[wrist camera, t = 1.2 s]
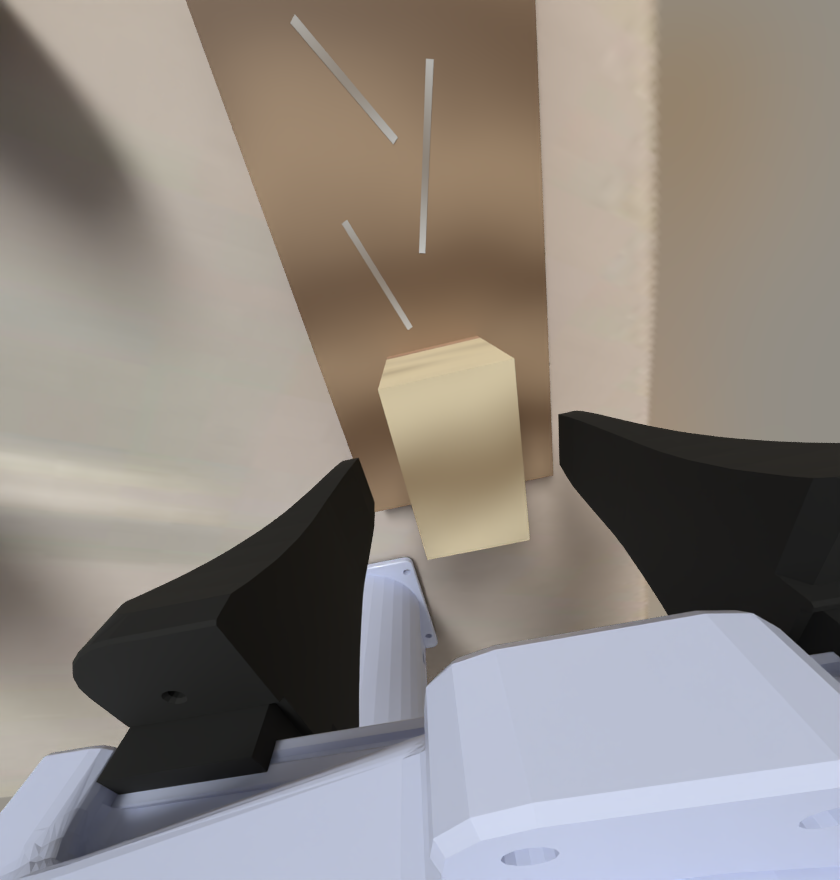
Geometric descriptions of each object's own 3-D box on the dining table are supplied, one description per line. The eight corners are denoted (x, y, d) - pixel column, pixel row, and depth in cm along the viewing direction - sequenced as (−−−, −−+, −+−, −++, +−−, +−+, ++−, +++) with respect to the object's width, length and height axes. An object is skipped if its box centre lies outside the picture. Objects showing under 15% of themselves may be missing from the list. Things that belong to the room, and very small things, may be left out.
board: (542, 461, 18) (553, 475, 16) (375, 496, 18) (372, 512, 17) (510, -102, 9) (528, -170, 8) (200, -4, 10) (167, -51, 8)
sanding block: (495, 471, 16) (529, 539, 12) (421, 486, 17) (427, 560, 12) (477, 335, 13) (514, 358, 9) (387, 357, 14) (377, 389, 9)
